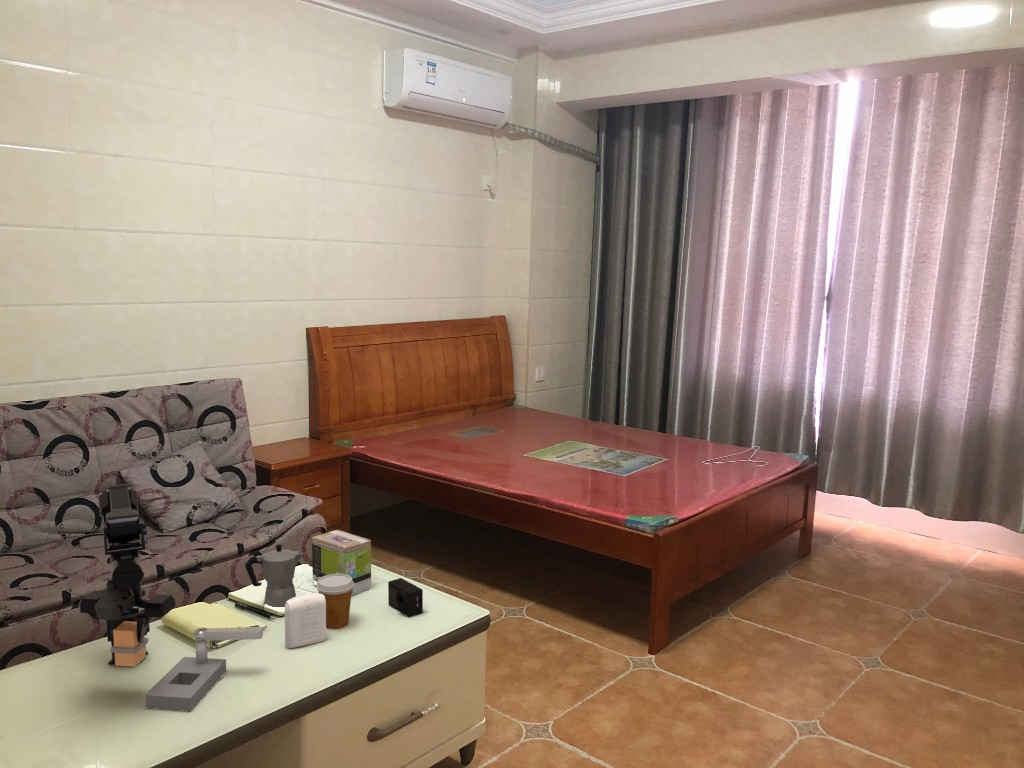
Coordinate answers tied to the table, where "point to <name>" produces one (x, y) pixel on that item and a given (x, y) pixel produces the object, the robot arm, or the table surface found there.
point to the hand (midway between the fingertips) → (129, 641)
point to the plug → (128, 645)
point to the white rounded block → (305, 620)
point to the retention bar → (228, 633)
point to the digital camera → (405, 597)
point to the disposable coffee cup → (336, 598)
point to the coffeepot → (276, 574)
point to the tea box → (343, 558)
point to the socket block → (186, 681)
